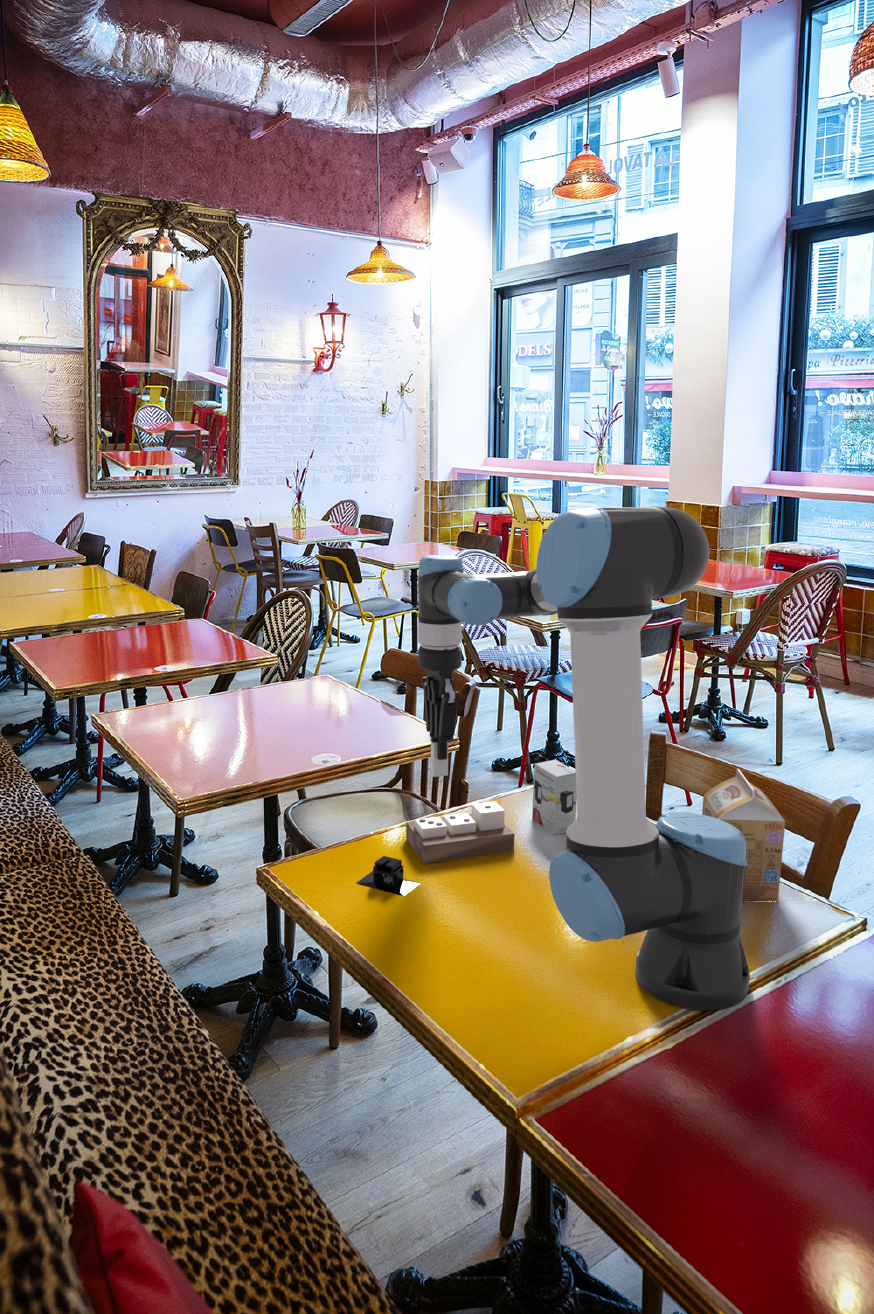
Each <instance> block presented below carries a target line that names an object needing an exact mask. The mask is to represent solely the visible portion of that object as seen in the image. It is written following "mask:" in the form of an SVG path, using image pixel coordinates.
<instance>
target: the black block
mask: <svg viewBox="0 0 874 1314" xmlns="http://www.w3.org/2000/svg"><path fill="white" fill-rule="evenodd" d="M404 872H405V871H404V865H403V861H402V859H398V858H393V857H390V856H386V855H383V856H381V857H380V858H378V859H377V860H375V862H374V865H373V867H372V871H370V872H369V873H368V874H366V875H365V876H363V877H362V878H361V879H360V880H358V881H357V882H356V883H357V884H356V885H359V886H363V887H367V888H370V889H375V890H378V891H382V892H385V893H389V894H393V895H397V896H401V897H404V896H406V895H407V894H408V893H410V892H412V891H413V890H414V889H415V888H417V887H418V886H419V885H421V883H420V882H419V881H414V880H411V879H407V878H404Z"/></svg>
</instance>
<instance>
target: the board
mask: <svg viewBox="0 0 874 1314" xmlns="http://www.w3.org/2000/svg"><path fill="white" fill-rule="evenodd" d="M468 814H469V815H470V816H471V818H472V813H468ZM440 818H441V819H442V821H443V822H444V816H443V817H440ZM405 830H406V831H405V833H406V834H405V836H406V837H405V839H406V841H407V843H408V844H409V845H410V847H411V848H412V850H413V851H414V852H415V854H416V855H417V856H418V858H419V859H420V860H421V862H422V863H423V864H424V865H429V864H435V863H441V862H451V861H455V860H456V861H457V860H463V859H471V858H478V857H484V856H493V855H500V854H507V853H513V852H515V832H513V830H512V829H511V828H509V826H508V825H507V824H506V823H504V828H500V829H493V830H485V831H479V830H478V829H477V828H476V832H470V833H462V834H454V835H450V833H449V832H448V831H447V836H439V837H431V838H424V839H421V838H420V836H419V835H418V834H417V832H416V831H415V820H410V821H406V822H405Z"/></svg>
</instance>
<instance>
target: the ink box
mask: <svg viewBox="0 0 874 1314" xmlns="http://www.w3.org/2000/svg"><path fill="white" fill-rule="evenodd" d="M533 771H534V772H533V788H532V789H533V794H532V813H531V814H532V815H531V816H532V817H531V819H532V820H533V821H534V822H536V823H537V824H538V825H540V826H541V827H543V828H544V829H545V830H547V831H549V832H550V833H551V834H553V835H561V834H566V830H567V829H568V827H569V826H570V825H571V824H572V823H573V822H574V821H575V820H576V819H577V816H576V815H577V792H576V770H574V769H573V768H571V767H569V766H568V765H565V764H564V763H563V762H560V761H559V760H557V759H552V760H548V761H542V762H537V763H536V762H535V763H534V766H533Z"/></svg>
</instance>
